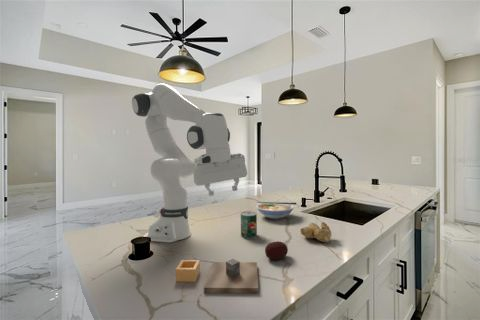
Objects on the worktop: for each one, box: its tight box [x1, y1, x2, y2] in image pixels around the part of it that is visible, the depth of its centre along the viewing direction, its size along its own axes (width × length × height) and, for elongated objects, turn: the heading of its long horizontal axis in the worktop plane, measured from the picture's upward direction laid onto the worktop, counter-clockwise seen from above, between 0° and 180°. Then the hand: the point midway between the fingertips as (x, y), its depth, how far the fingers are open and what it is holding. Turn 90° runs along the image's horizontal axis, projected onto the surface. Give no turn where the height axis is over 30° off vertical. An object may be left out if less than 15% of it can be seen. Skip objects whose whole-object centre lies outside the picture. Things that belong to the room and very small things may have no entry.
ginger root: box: [299, 221, 333, 243], centre depth 111 cm, size 16×16×8 cm
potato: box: [264, 240, 289, 261], centre depth 92 cm, size 7×10×6 cm
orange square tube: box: [175, 259, 201, 283], centre depth 79 cm, size 6×6×4 cm
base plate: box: [203, 258, 259, 294], centre depth 78 cm, size 16×16×6 cm
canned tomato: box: [240, 210, 258, 240], centre depth 116 cm, size 8×8×11 cm
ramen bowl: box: [256, 201, 297, 220], centre depth 147 cm, size 25×23×8 cm
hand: (223, 192), depth 89 cm, fingers open, 8 cm apart
